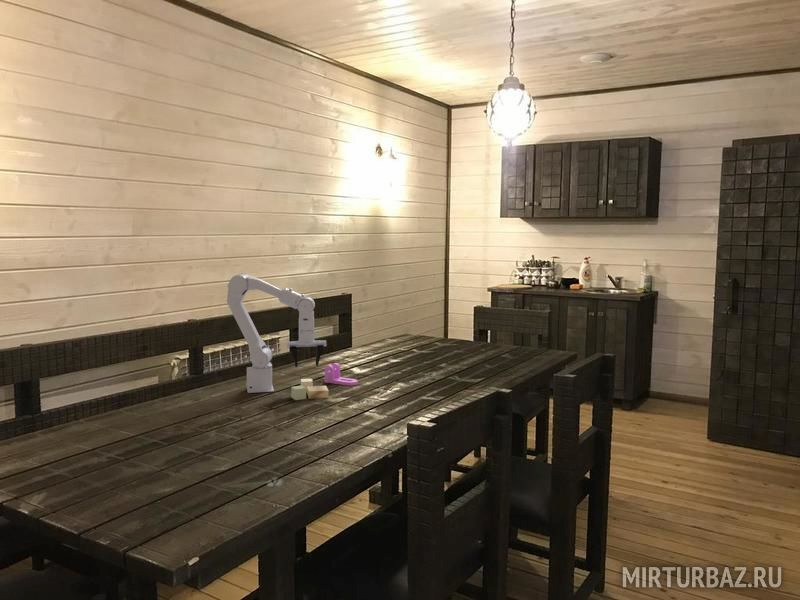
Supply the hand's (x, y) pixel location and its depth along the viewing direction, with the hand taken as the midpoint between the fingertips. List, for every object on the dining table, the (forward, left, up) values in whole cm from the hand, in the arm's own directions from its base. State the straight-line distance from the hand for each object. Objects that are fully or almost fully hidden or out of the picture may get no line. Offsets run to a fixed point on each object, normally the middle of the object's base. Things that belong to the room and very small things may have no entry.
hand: (306, 365), depth 237 cm
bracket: (+15, +9, -10) cm, 20 cm away
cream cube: (0, 0, -9) cm, 9 cm away
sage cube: (-4, -10, -9) cm, 14 cm away
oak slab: (+3, -8, -10) cm, 13 cm away
